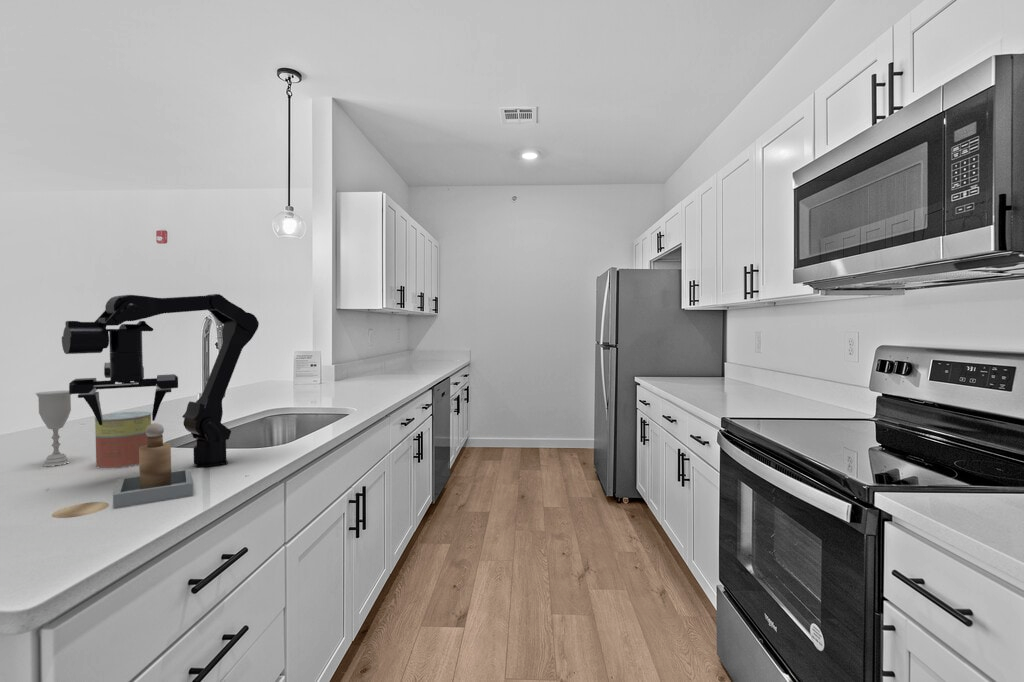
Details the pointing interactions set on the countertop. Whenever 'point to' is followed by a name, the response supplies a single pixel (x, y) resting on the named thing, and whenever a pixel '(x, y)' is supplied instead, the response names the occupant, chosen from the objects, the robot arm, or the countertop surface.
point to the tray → (152, 490)
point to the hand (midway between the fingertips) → (127, 422)
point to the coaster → (80, 509)
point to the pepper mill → (155, 459)
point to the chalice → (55, 419)
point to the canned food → (121, 438)
